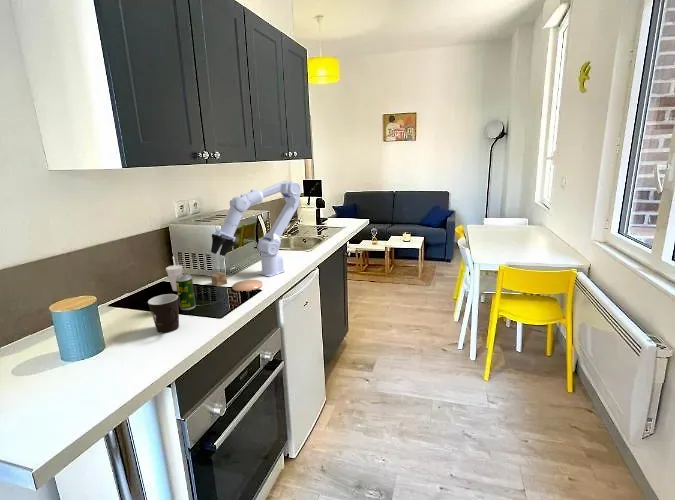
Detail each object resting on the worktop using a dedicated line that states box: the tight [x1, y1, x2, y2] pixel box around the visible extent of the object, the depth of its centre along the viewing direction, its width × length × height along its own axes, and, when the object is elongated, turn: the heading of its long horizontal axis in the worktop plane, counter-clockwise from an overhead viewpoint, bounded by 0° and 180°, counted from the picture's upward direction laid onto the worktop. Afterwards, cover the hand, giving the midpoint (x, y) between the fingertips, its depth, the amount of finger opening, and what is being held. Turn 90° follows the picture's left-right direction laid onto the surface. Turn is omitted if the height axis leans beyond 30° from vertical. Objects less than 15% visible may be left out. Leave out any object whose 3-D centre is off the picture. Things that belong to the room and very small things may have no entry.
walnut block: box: [210, 271, 228, 288], centre depth 154 cm, size 4×4×4 cm
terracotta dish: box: [231, 279, 263, 293], centre depth 150 cm, size 12×12×1 cm
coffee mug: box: [147, 293, 180, 334], centre depth 113 cm, size 12×9×10 cm
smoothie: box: [165, 256, 184, 292], centre depth 149 cm, size 6×6×14 cm
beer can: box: [176, 273, 197, 311], centre depth 130 cm, size 5×5×12 cm
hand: (217, 254), depth 150 cm, fingers open, 7 cm apart
